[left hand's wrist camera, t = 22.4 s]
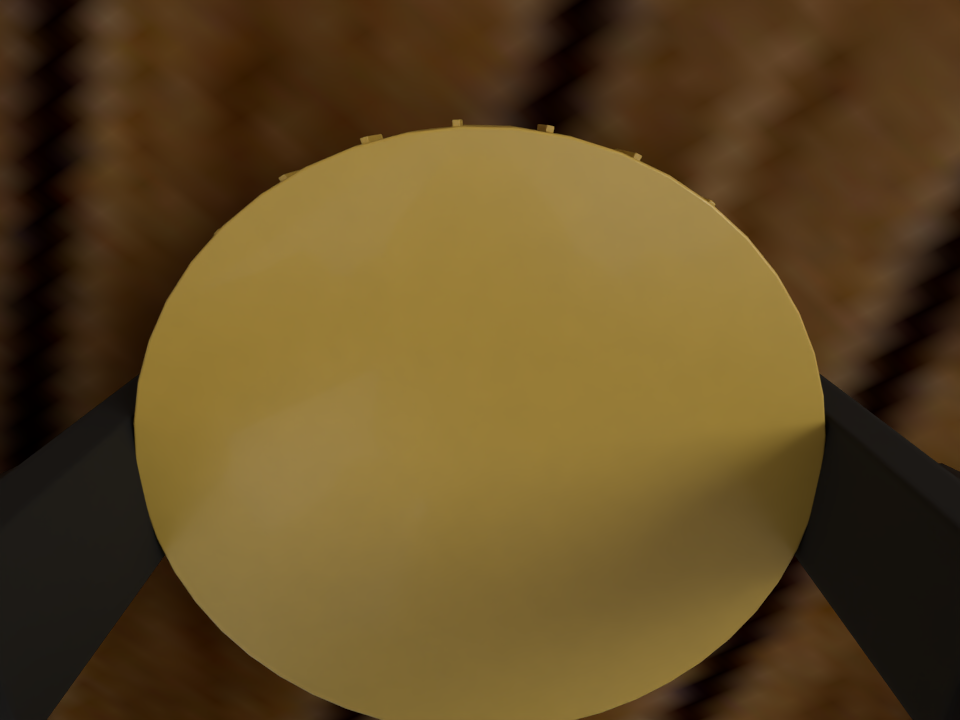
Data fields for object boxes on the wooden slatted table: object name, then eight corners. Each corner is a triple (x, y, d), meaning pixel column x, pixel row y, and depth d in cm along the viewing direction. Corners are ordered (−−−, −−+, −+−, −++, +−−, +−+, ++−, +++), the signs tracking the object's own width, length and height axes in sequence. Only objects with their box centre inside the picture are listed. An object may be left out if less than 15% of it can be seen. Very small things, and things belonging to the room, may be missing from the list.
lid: (527, -50, 9) (539, -92, 7) (883, 463, 12) (954, 524, 10) (59, 399, 12) (-18, 451, 10) (451, 728, 15) (447, 813, 13)
